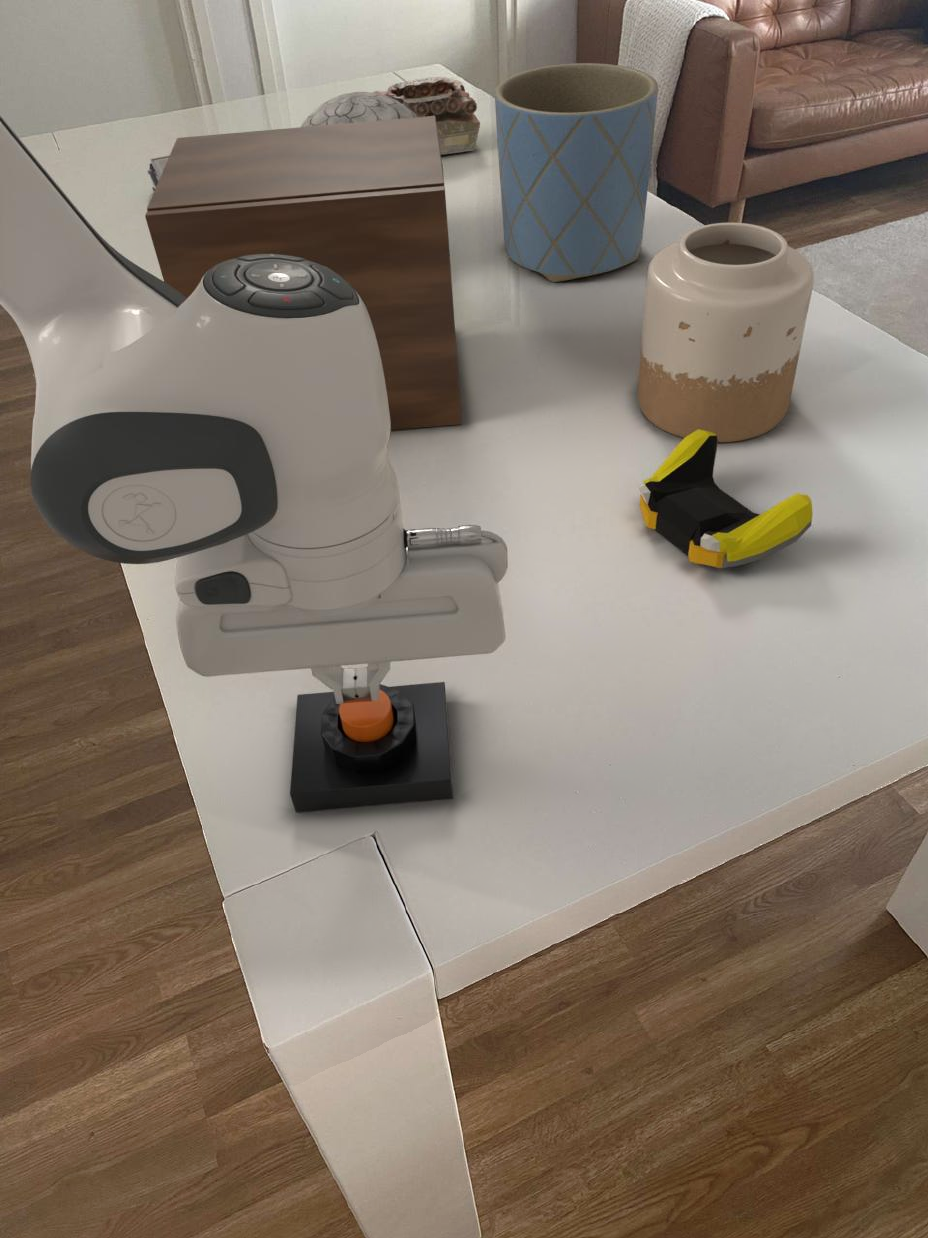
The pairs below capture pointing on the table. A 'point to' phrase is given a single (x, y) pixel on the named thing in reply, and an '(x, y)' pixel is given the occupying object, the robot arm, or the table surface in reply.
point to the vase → (723, 331)
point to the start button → (367, 719)
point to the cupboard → (300, 163)
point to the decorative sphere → (358, 110)
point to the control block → (372, 753)
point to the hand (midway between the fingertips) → (358, 695)
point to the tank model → (441, 110)
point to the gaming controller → (715, 510)
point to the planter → (575, 166)
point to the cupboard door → (347, 275)
